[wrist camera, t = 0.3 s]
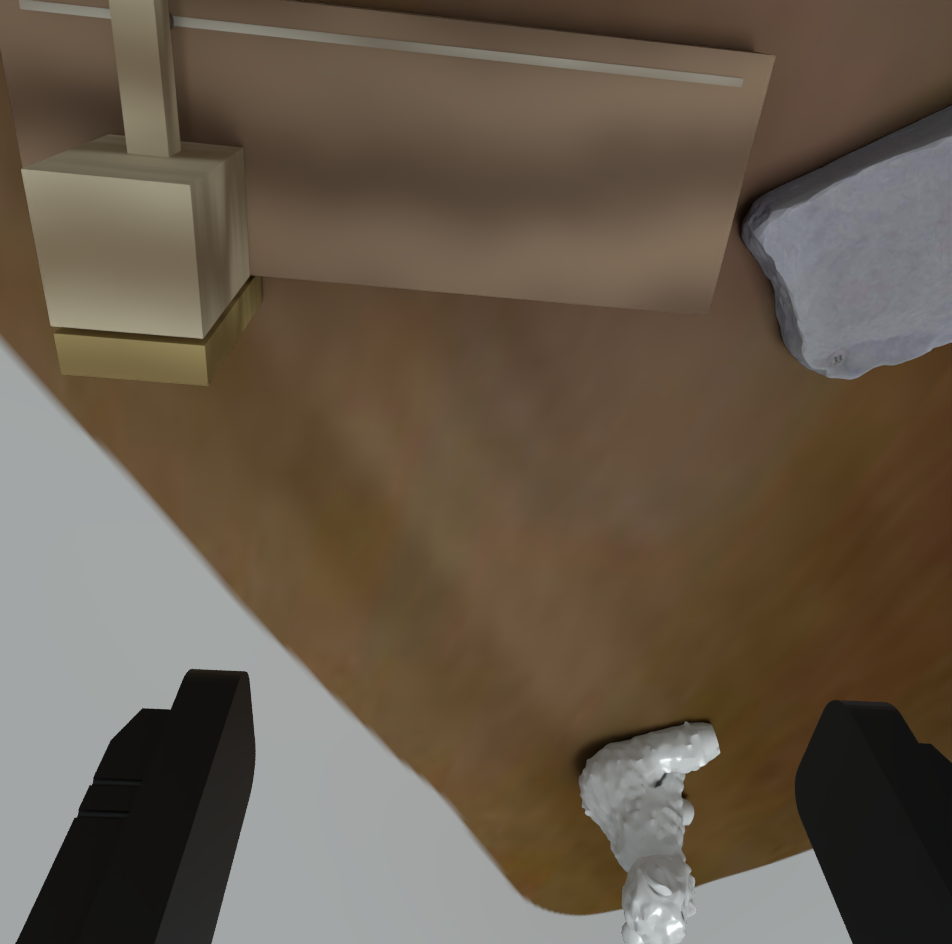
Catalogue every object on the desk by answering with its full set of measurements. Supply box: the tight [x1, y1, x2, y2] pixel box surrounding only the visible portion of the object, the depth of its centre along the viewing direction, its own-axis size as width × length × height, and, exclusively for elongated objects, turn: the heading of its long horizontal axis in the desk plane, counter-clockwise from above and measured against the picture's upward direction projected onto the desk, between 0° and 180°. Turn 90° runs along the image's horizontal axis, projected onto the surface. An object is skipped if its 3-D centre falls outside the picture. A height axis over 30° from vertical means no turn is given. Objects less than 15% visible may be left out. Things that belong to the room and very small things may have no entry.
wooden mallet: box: [21, 0, 262, 386], centre depth 28 cm, size 15×5×9 cm, turn 174°
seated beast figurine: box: [579, 721, 720, 944], centre depth 48 cm, size 10×9×12 cm
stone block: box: [741, 105, 952, 379], centre depth 34 cm, size 12×5×10 cm
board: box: [0, 0, 776, 316], centre depth 32 cm, size 10×28×2 cm, turn 84°
